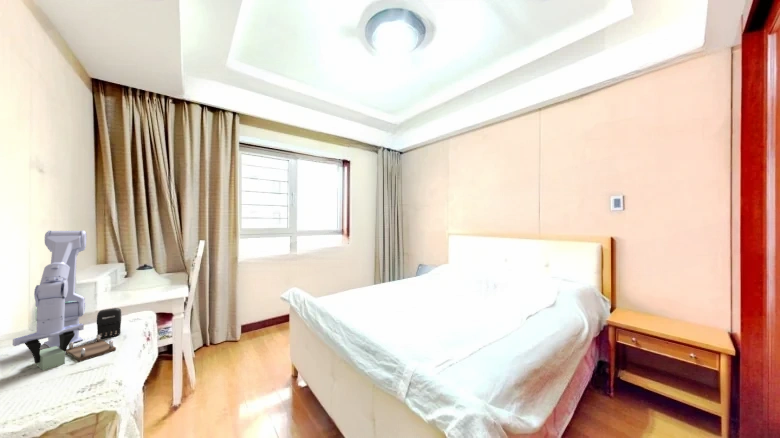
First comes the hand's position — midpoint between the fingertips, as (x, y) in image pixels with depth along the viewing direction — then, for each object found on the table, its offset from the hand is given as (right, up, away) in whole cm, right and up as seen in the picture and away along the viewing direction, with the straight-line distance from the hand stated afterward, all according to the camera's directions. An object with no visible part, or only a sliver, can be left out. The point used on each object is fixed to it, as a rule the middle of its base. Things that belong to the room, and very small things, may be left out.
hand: (49, 358), depth 89 cm
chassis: (+4, -2, +9) cm, 10 cm away
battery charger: (-2, -2, +21) cm, 21 cm away
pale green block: (0, -2, 0) cm, 2 cm away
